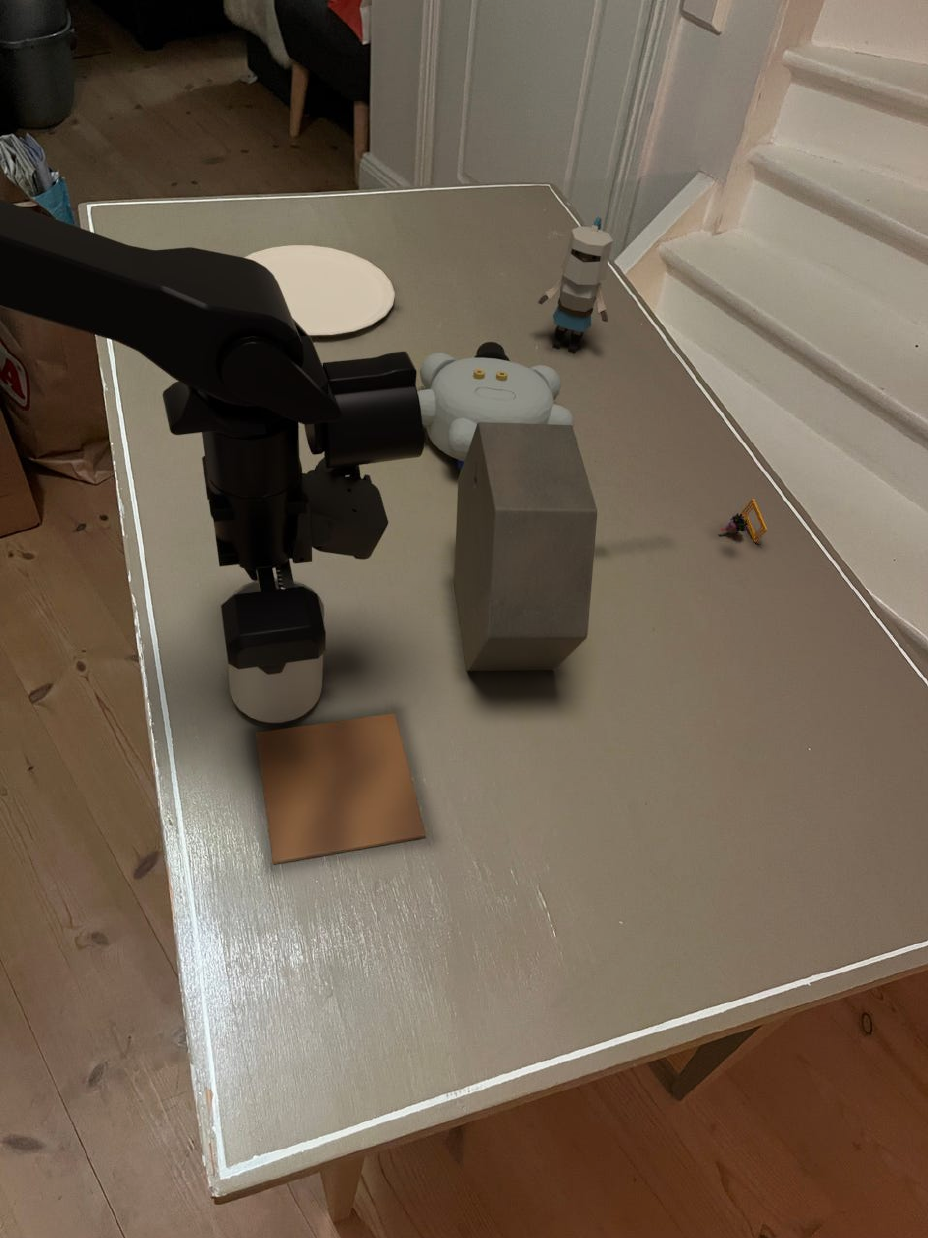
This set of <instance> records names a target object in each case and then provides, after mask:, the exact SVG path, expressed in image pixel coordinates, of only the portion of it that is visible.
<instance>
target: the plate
mask: <svg viewBox="0 0 928 1238" xmlns="http://www.w3.org/2000/svg"><path fill="white" fill-rule="evenodd" d="M243 258H247V259H250V260H253V261H256V262H257V263H259V264H261V265H262V266H264V267H266V268H267V269H268V270H269V271H270V272H271V273H272V274H273V275H274V277H275V279H276V280H277V282H278V284H279V286H280V289H281V291H282V293H283V296H284V298H285V301H286V303H287V306H288V308H289V311H290V314H291V316H292V318H293V319H294V320H295V321H296V322H297V323H298V324H299V325H300V326H301V328H302V329H303V330H304V331H305V332H306V333H307V334H308V335H309V336H310V337H311V338H316V337H317V338H318V337H319V338H321V337H323V338H324V337H325V338H327V337H337V336H344V335H349V334H355V333H357V332H359V331H362V330H364V329H365V330H366V329H368V328H371V327H372V326H374V325H376V324H377V323H378V322H379V321H381V320H382V319H384V318H386V316H387V315H388V314H389V312H390V311H391V310H392V308H393V307H394V302H395V295H396V292H395V289H394V286H393V283H392V281H391V280H390V278H389V277H388V276H387V275H386V274H385V273H384V272H383V270H382V269H380V268H379V267H378V266H376V265H374V264H373V263H371V261H369V260H367V259H365V258H362V257H360V256H358V255H356V254H354V253H351V252H347V251H343V250H340V249H336V248H333V247H326V246H318V245H312V244H311V245H310V244H309V245H304V244H303V245H302V244H300V245H299V244H298V245H297V244H294V245H293V244H289V245H284V246H283V245H282V246H274V247H268V248H265V249H262V250H258V251H254V252H252V253H249V254H248V255H246V256H244V257H243Z"/></svg>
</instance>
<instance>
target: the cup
mask: <svg viewBox="0 0 928 1238" xmlns="http://www.w3.org/2000/svg"><path fill="white" fill-rule="evenodd" d="M274 579H275V585H276V589H279V586H278V579H277V577H274ZM293 581H294V587H302V586H303V587H305V588H307V589H309V590H311V591H313V592H315V593H316V591H314V589H313V588H311V587H309V586H307V584H304V583H302V582H300V581H296V580H294V579H293ZM259 591H260V589H259V583H258V580H256V581H253V580H252V581H251V582H248V583H246V584H243V585H242V586H241V587H239V588H237V589H236V590H235V591H234V592H233V593H232V594H231V595H230V596H229V597H228V599H229V598H230V597H232V596H233V595H234V594H242V593H251V592H259ZM318 599H319V604H320V609H321V613H322V618H323V623H324V624H325V605H324V603H323V600H322V599H321V597H320V595H318ZM323 665H324V653H323V654H322V655H321V656H320V658H319V659H312V660H304V661H297V662H290V663H286V665H285V667H284V669H283V671H282V672H281V673H279V674H271V675H267V674H266V673H264V672H263V671H262V670H260V669H259V668H258V667H253V668H246V669H239V670H238V669H237V668H235V667H233V666H231V665H230V664H228V663H227V666H228V667H227V668H228V669H227V670H228V681H229V691H230V695H231V698H232V701H233V703H234V705H235V706H236V707H237V708H238V710H239V711H240V712H242V713H243V714H245V715H246V716H247V717H249V718H251V719H254V720H256V721H259V722H263V723H269V724H282V723H287V722H291V721H295V720H297V719H299V718H300V717H303V716H305V715H306V714H307V713H309V712H310V710H312V709H313V708H314V707H315V706H316V704H317V702H318V701H319V699H320V696H321V694H322V688H323V671H324V670H323V667H324V666H323Z"/></svg>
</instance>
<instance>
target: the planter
mask: <svg viewBox="0 0 928 1238" xmlns="http://www.w3.org/2000/svg"><path fill="white" fill-rule="evenodd" d="M457 480H458V481H457V500H456V501H457V502H456V525H455V526H456V528H455V552H454V553H455V554H454V574H453V575H454V577H453V578H454V579H453V586H454V592H455V593H454V594H455V599H456V607H457V614H458V620H459V627H460V628H459V629H460V633H461V634H460V635H461V642H462V649H463V650H462V651H463V656H464V657H463V658H464V663H465V669H466V671H467V672H496V671H498V672H505V671H506V672H507V671H509V672H510V671H555V670H556V669H557V668H558V667H559V666H561V664H562V663H563V662H565V660H567V658H568V657H570V655H571V654H572V653H574V652H575V650H577V649H578V647H579V646H580V645H582V644H583V643H584V641H586V640H587V638H588V634H589V633H588V632H589V621H590V620H589V619H590V609H591V596H592V583H593V572H594V561H595V559H594V558H595V548H596V535H597V524H598V523H597V522H598V509H597V505H596V501H595V498H594V494H593V491H592V488H591V485H590V480H589V477H588V474H587V470H586V468H585V464H584V461H583V457H582V455H581V451H580V448H579V444H578V440H577V437H576V433H575V430H574V426H573V427H572V426H571V425H555V424H524V423H493V422H478V423H477V426H476V429H475V432H474V435H473V438H472V441H471V444H470V447H469V450H468V452H467V455H466V458H465V461H464V464H463V467H462V470H461V471H460V473H459V476H458V479H457Z"/></svg>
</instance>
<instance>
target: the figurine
mask: <svg viewBox="0 0 928 1238" xmlns="http://www.w3.org/2000/svg"><path fill="white" fill-rule="evenodd" d="M419 376H420V382H421V383H422V385H423V387H424V388H425V389H419V390H417V392H418V396H419V401H420V407H421V416H422V424H423V426H425V427H426V428H425V429H426V432H427V435H428V437H429V439H430V441H431V442H432V443H433V444H434V446H436V447H437V448H438V449H439V450H440V451H442V453H444V454H445V455H448V456H449V457H451V458H454V459H456V460H457V467H458V469H459V471H460V472H461V470H462V467H463V464H464V461H465V458H466V455H467V452H468V450H469V447H470V444H471V441H472V438H473V435H474V432H475V429H476V426H477V423H478V422H493V423H524V424H555V425H571V426H572V427H573V428H574V422H575V421H574V417H573V414H572V412H571V411H570V410H569V409H567V408H566V407H564V406H561V405H559V404H556V403H555V400H556V399H557V397H558V396H559V394H560V392H561V391H560V389H561V378H560V376H559V374H558V373H557V372H556V370H555V369H553V368H551V367H550V366H547V365H545V364H538V365H534V366H531V367H527V366H525V365H523V364H520V363H516V362H514V361H511V359H510V358H509V356H507V354H506V352H505V350H504V347H503V346H502V345H501V344H500V343H497V342H496V341H486V342H484V343H482V344H481V345H480V346H479V347H478V348H477V350H476V353H475V356H474V357H467V358H461V359H458V360H457V358H455V357H453V356H452V355H451V354H448V353H446V352H434V353H432V354H430V355H428V356H426V357H425V359H424V360H423V361H422V362H421V365H420V368H419Z"/></svg>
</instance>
